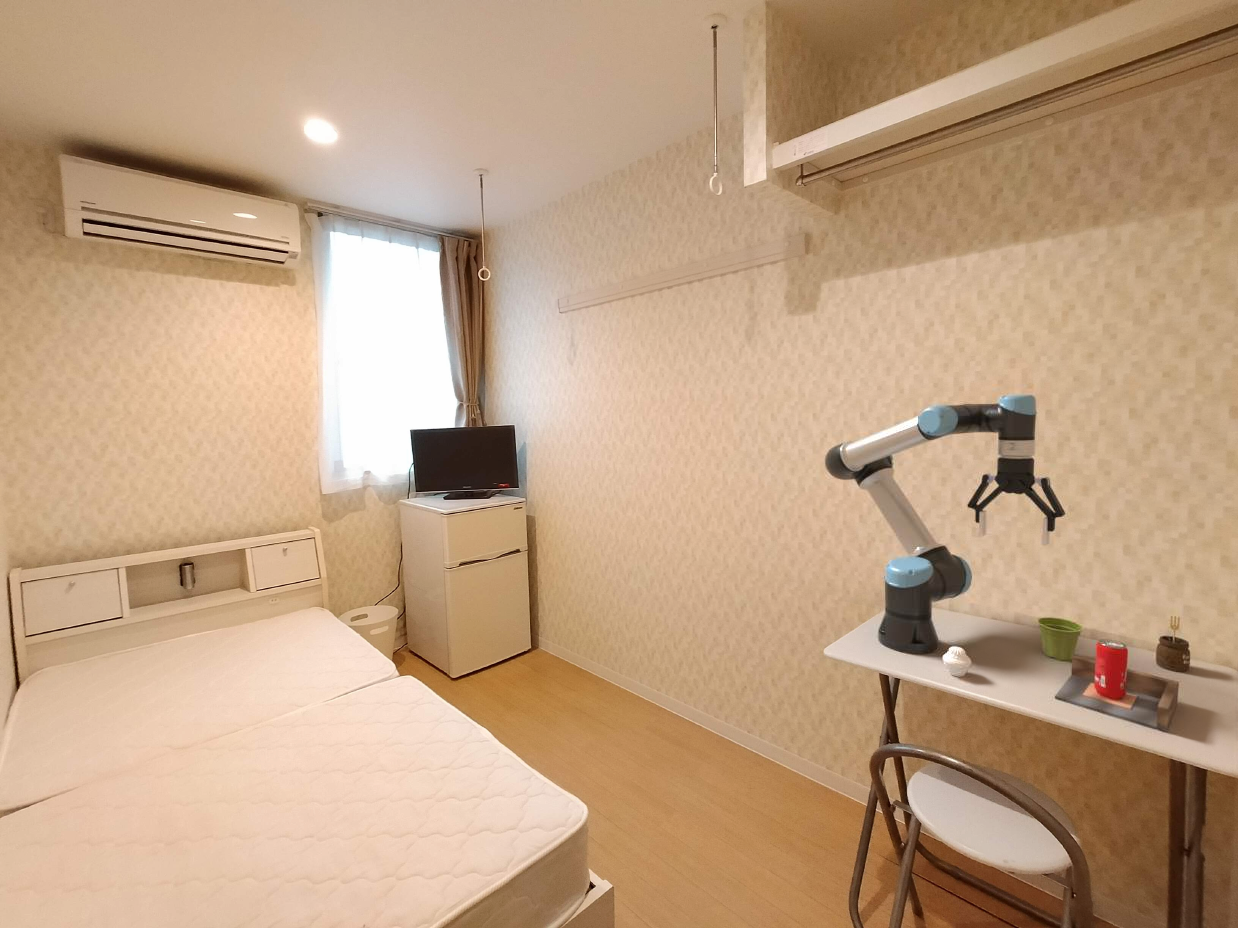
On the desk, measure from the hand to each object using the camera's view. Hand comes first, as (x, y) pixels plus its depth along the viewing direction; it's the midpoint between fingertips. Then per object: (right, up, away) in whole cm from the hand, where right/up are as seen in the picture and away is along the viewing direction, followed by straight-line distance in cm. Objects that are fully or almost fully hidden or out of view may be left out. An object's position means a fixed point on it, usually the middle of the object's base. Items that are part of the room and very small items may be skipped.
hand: (1012, 539), depth 140 cm
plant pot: (+15, -31, +4) cm, 35 cm away
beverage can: (+9, -33, -17) cm, 38 cm away
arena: (+10, -33, -18) cm, 39 cm away
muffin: (-17, -33, -4) cm, 37 cm away
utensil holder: (+37, -31, -4) cm, 48 cm away
